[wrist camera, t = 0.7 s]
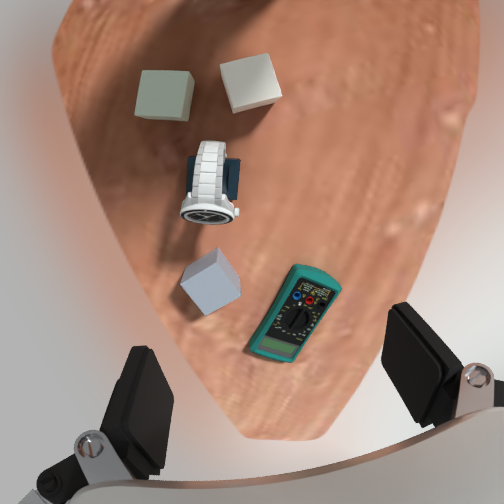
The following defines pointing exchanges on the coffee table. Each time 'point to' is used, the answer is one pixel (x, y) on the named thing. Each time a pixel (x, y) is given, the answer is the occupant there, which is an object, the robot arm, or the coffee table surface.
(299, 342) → the digital multimeter
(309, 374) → the coffee table surface
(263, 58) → the cream cube
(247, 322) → the coffee table surface
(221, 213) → the watch
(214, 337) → the coffee table surface
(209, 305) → the slate cube
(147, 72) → the sage cube
